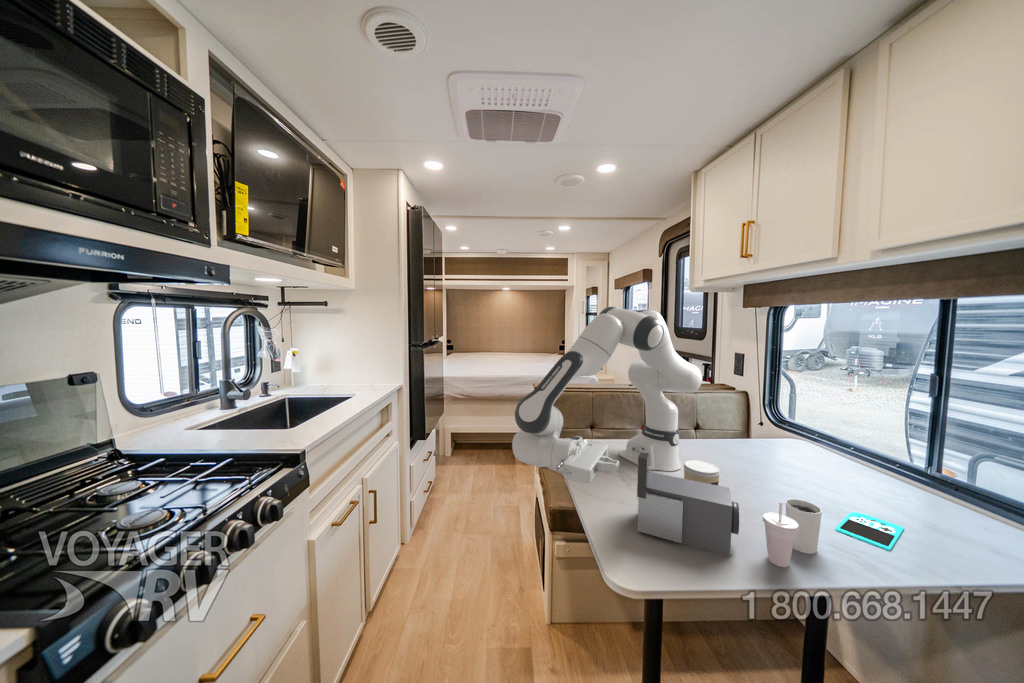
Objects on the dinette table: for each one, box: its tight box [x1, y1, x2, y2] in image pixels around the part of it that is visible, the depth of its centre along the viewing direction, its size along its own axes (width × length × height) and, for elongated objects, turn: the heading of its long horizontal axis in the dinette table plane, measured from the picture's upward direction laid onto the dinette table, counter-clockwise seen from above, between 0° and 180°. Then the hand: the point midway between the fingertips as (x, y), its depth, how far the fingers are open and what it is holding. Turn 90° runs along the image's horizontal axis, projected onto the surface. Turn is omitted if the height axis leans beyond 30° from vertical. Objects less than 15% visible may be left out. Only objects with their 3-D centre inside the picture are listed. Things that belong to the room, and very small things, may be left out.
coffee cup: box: [683, 459, 721, 486], centre depth 101 cm, size 9×9×12 cm
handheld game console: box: [834, 511, 905, 552], centre depth 90 cm, size 10×16×1 cm, turn 123°
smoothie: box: [762, 501, 799, 568], centre depth 78 cm, size 6×6×14 cm
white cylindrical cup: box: [785, 498, 823, 555], centre depth 83 cm, size 7×7×10 cm
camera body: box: [648, 471, 740, 558], centre depth 88 cm, size 22×10×12 cm, turn 61°
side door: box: [636, 452, 683, 544], centre depth 84 cm, size 10×4×20 cm, turn 62°
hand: (618, 466), depth 88 cm, fingers closed
